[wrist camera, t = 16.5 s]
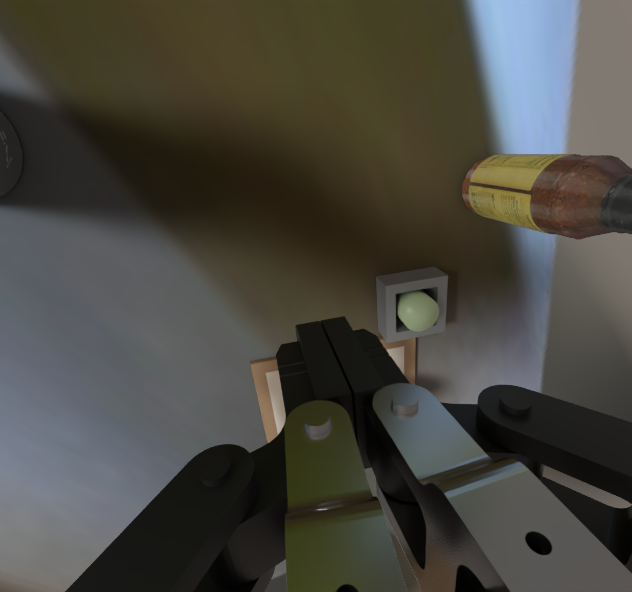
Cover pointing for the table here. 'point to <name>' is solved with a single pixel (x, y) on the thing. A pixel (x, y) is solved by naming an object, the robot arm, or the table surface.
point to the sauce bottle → (553, 193)
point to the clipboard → (272, 392)
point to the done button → (416, 310)
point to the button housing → (405, 282)
